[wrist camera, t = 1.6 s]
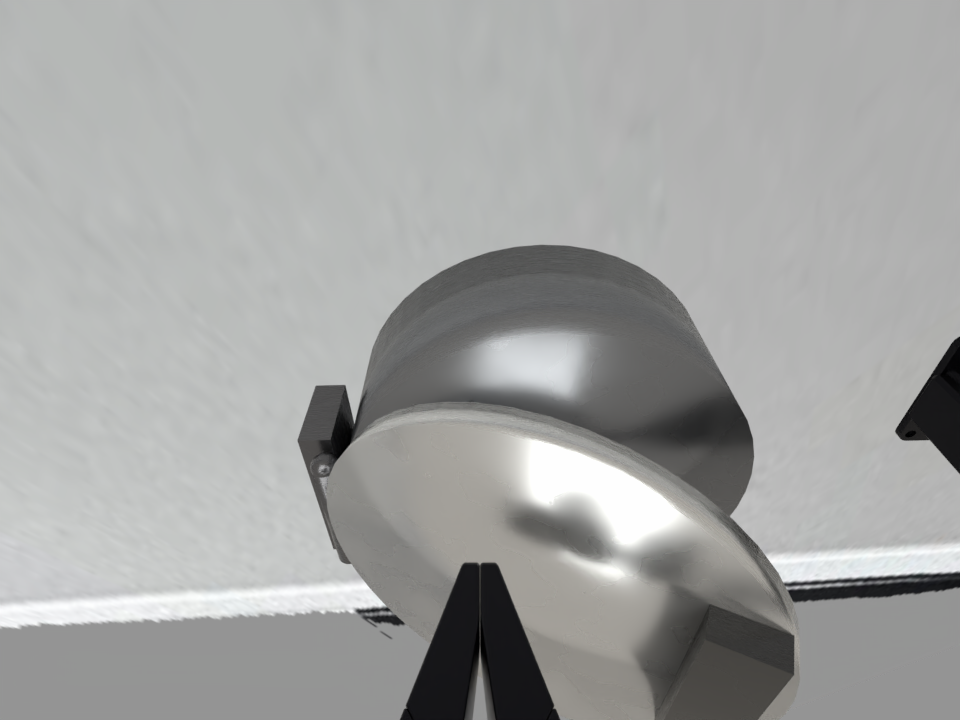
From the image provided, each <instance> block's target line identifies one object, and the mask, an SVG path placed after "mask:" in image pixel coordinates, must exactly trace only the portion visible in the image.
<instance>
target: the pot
mask: <svg viewBox="0 0 960 720" xmlns="http://www.w3.org/2000/svg"><path fill="white" fill-rule="evenodd" d="M437 402H477V403H485V404H492V405H499V406H506V407H513V408H517V409H521V410H525V411H529V412H533V413H538V414H542V415H546V416H550V417H553V418H556V419H558V420H561V421H564V422H567V423H570V424H573V425H576V426H579V427H582V428H585V429H588V430H590V431H592V432H595V433H597V434H599V435H601V436H604V437H606V438H608V439H610V440H612V441H615V442H617V443H619V444H621V445H624V446H626V447H628V448H630V449H632V450H634V451H635V452H637V453H639V454H641V455H642V456H644V457H646V458H648V459H650V460H651V461H653V462H655V463H657V464H659V465H660V466H662V467H664V468H666V469H667V470H669V471H670V472H672V473H673V474H675V475H676V476H678V477H679V478H681V479H682V480H683V481H685V482H686V483H688V484H689V485H691V486H692V487H694V488H695V489H697V490H698V491H700V492H701V493H702V494H703V495H705V496H706V497H707V498H708V499H709V500H711V501H712V502H713V503H714V504H715V505H717V506H718V507H719V508H720V509H721V510H723V511H724V512H725V513H726V514H727V515H729V516H731V514H732V513H733V512H734V510H735V509H736V508H737V506H738V504H739V503H740V501H741V499H742V497H743V495H744V494H745V492H746V489H747V486H748V484H749V481H750V478H751V475H752V469H753V462H754V446H753V437H752V434H751V430H750V427H749V424H748V420H747V419H746V417H745V415H744V413H743V411H742V410H741V408H740V406H739V404H738V402H737V401H736V399H735V397H734V395H733V393H732V391H731V390H730V388H729V386H728V384H727V382H726V381H725V379H724V377H723V375H722V373H721V371H720V370H719V368H718V366H717V364H716V362H715V361H714V359H713V357H712V355H711V353H710V351H709V350H708V348H707V346H706V344H705V342H704V341H703V339H702V337H701V335H700V333H699V332H698V330H697V328H696V326H695V324H694V322H693V321H692V319H691V317H690V315H689V313H688V312H687V310H686V308H685V307H684V305H683V304H682V303H681V302H680V300H679V299H678V298H677V297H676V295H675V294H674V293H673V292H672V291H671V290H670V289H669V288H668V287H666V286H665V285H664V284H663V283H662V282H661V281H660V280H659V279H657V278H656V277H654V276H653V275H651V274H650V273H648V272H646V271H645V270H643V269H642V268H640V267H639V266H637V265H634V264H632V263H630V262H628V261H625V260H623V259H621V258H619V257H616V256H613V255H610V254H606V253H603V252H599V251H596V250H592V249H586V248H580V247H573V246H565V245H531V246H519V247H512V248H507V249H502V250H497V251H492V252H488V253H485V254H482V255H479V256H476V257H473V258H470V259H467V260H464V261H462V262H460V263H458V264H456V265H453V266H451V267H449V268H447V269H445V270H443V271H441V272H440V273H438V274H436V275H435V276H433V277H432V278H430V279H429V280H427V281H425V282H424V283H422V284H421V285H420V286H419V287H418V288H416V289H415V290H414V291H413V292H412V293H410V294H409V295H408V296H407V297H406V298H405V299H404V300H403V301H402V302H401V303H400V304H399V305H398V306H397V308H396V309H395V310H394V311H393V312H392V313H391V314H390V316H389V318H388V319H387V321H386V322H385V324H384V325H383V327H382V328H381V330H380V332H379V334H378V336H377V339H376V341H375V343H374V346H373V348H372V352H371V356H370V360H369V364H368V368H367V373H366V377H365V381H364V386H363V390H362V394H361V399H360V403H359V407H358V411H357V416H356V420H355V424H354V420H353V416H352V411H351V407H350V403H349V398H348V394H347V390H346V385H317V386H315V389H314V392H313V395H312V398H311V401H310V404H309V407H308V410H307V413H306V416H305V419H304V422H303V425H302V428H301V431H300V434H299V437H298V440H297V441H298V444H299V447H300V450H301V453H302V456H303V459H304V462H305V465H306V468H307V471H308V474H309V477H310V480H311V483H312V486H313V489H314V492H315V495H316V498H317V501H318V504H319V507H320V510H321V513H322V516H323V519H324V522H325V525H326V528H327V531H328V534H329V537H330V540H331V543H332V546H333V549H336V547H335V544H334V541H333V538H332V535H331V532H330V529H329V526H328V523H327V520H326V517H325V514H324V511H323V508H322V504H321V501H320V498H319V495H318V492H317V489H316V486H315V483H314V480H313V477H312V474H311V471H310V464H311V462H312V460H313V458H314V457H315V456H316V455H318V454H320V453H330V454H332V455H334V456H335V457H336V458H337V460H338V459H339V457H340V456H341V455H342V454H343V452H344V451H345V450H346V449H347V448H348V446H349V445H350V444H351V443H352V442H353V441H354V439H355V438H356V437H357V436H358V435H359V433H360V432H361V431H362V430H363V429H365V428H366V427H367V426H368V425H370V424H371V423H372V422H374V421H375V420H376V419H378V418H380V417H383V416H385V415H387V414H389V413H391V412H393V411H396V410H399V409H403V408H407V407H411V406H414V405H418V404H428V403H437Z"/></svg>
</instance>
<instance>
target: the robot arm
mask: <svg viewBox="0 0 960 720" xmlns="http://www.w3.org/2000/svg"><path fill="white" fill-rule="evenodd" d="M895 433H896V434H897V435H898V437H899V438H900V439H901V440H904V441H919V440H930V441H931V442H932V443H933V444H934V446H935V447H936V448H937V449H938V450H939V451H940V452H941V454H942V455H943V456H944V457H945V458H946V459H947V460H948V462H949V463H950V464H951V465H952V466H953V467H954V468H955V469H956V471H957V472H958V473H959V474H960V337H958V338H956V339H955V340H954V341H953V342H952V343H951V345H950V346H949V348H948V349H947V351H946V353H945V354H944V356H943V357H942V359H941V360H940V362H939V363H938V365H937V366H936V368H935V369H934V371H933V372H932V374H931V376H930V377H929V379H928V380H927V382H926V383H925V385H924V386H923V388H922V389H921V391H920V392H919V394H918V396H917V397H916V399H915V400H914V402H913V403H912V405H911V406H910V408H909V409H908V411H907V412H906V414H905V415H904V417H903V419H902V420H901V422H900V423H899V425H898V426H897V428H896V430H895ZM479 656H481V668H482V676H483V685H484V694H485V703H486V712H487V720H560V718H559V715H558V713H557V710H556V709H555V708H554V703H553V701H552V698H551V696H550V693H549V691H548V688H547V686H546V683H545V681H544V678H543V676H542V673H541V671H540V668H539V666H538V663H537V661H536V658H535V656H534V653H533V651H532V648H531V646H530V643H529V641H528V638H527V636H526V633H525V631H524V628H523V626H522V623H521V621H520V618H519V615H518V613H517V610H516V608H515V605H514V603H513V600H512V598H511V595H510V593H509V590H508V588H507V585H506V583H505V580H504V578H503V575H502V573H501V570H500V568H499V566H498V564H497V563H495V562H483V563H481V564H479V563H477V562H465V563H463V564H462V566H461V568H460V570H459V573H458V575H457V578H456V580H455V583H454V585H453V588H452V590H451V593H450V596H449V598H448V601H447V603H446V606H445V608H444V611H443V613H442V616H441V618H440V621H439V623H438V626H437V628H436V631H435V633H434V636H433V638H432V641H431V643H430V646H429V648H428V651H427V653H426V656H425V658H424V661H423V663H422V666H421V668H420V671H419V673H418V676H417V678H416V681H415V683H414V686H413V688H412V691H411V693H410V696H409V698H408V701H407V703H406V708H405V709H404V710H403V713H402V715H401V718H400V720H473V712H474V703H475V694H476V685H477V676H478V668H479Z"/></svg>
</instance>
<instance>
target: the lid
mask: <svg viewBox="0 0 960 720" xmlns="http://www.w3.org/2000/svg"><path fill="white" fill-rule="evenodd" d="M310 471H311V474H312V477H313V480H314V483H315V486H316V489H317V492H318V495H319V498H320V501H321V504H322V508H323V511H324V514H325V517H326V520H327V523H328V526H329V529H330V532H331V535H332V538H333V541H334V544H335V547H336V550H337V553H338V556H339V559H340V561H341V562H342V563H344V564H352V565H353V567H354V568H355V570H356V571H357V573H358V574H359V575H360V577H361V578H362V579H363V580H364V582H365V583H366V584H367V585H368V587H369V588H370V589H371V590H372V591H373V592H374V593H375V594H376V596H377V597H378V598H379V599H380V600H381V601H382V602H383V603H384V604H385V605H386V606H387V607H388V608H389V609H390V610H391V611H392V612H393V613H394V614H395V615H396V616H397V617H398V618H399V619H401V620H402V621H403V622H404V623H405V624H406V625H408V626H409V627H410V628H411V629H412V630H413V631H414V632H416V633H417V634H418V635H419V636H421V637H422V638H423V639H425V640H426V641H427V642H428V643H431V641H432V638H433V636H434V633H435V631H436V628H437V626H438V623H439V621H440V618H441V616H442V613H443V611H444V608H445V606H446V603H447V601H448V598H449V596H450V593H451V590H452V588H453V585H454V583H455V580H456V578H457V575H458V573H459V570H460V568H461V566H462V564H463V563H465V562H477V563H479V564H481V563H483V562H495V563H497V564H498V566H499V568H500V570H501V573H502V575H503V578H504V580H505V583H506V585H507V588H508V590H509V593H510V595H511V598H512V600H513V603H514V605H515V608H516V610H517V613H518V615H519V618H520V621H521V623H522V626H523V628H524V631H525V633H526V636H527V638H528V641H529V643H530V646H531V648H532V651H533V653H534V656H535V658H536V661H537V663H538V666H539V668H540V671H541V673H542V676H543V678H544V681H545V683H546V686H547V688H548V691H549V693H550V696H551V698H552V701H553V703H554V708H555V709H556V710H557V713H558V715H560V716H562V717H565V718H568V719H571V720H779V719H780V718H781V717H783V716H784V715H785V714H786V712H787V711H788V709H789V708H790V706H791V705H792V703H793V702H794V700H795V698H796V694H797V690H798V686H799V682H800V636H799V622H798V618H797V615H796V612H795V608H794V605H793V601H792V598H791V596H790V595H789V593H788V591H787V589H786V587H785V585H784V583H783V581H782V579H781V577H780V575H779V573H778V572H777V570H776V569H775V568H774V566H773V565H772V564H771V562H770V561H769V560H768V558H767V557H766V556H765V554H764V553H763V551H762V550H761V549H760V547H759V546H758V545H757V544H756V543H755V542H754V541H753V540H752V539H751V538H750V537H749V536H748V534H747V533H746V532H745V531H744V530H743V529H742V528H741V527H740V526H739V525H738V524H737V523H736V522H735V521H734V520H733V519H732V518H731V517H730V516H729V515H727V514H726V513H725V512H724V511H723V510H721V509H720V508H719V507H718V506H717V505H715V504H714V503H713V502H712V501H711V500H709V499H708V498H707V497H706V496H705V495H703V494H702V493H701V492H700V491H698V490H697V489H695V488H694V487H692V486H691V485H689V484H688V483H686V482H685V481H683V480H682V479H681V478H679V477H678V476H676V475H675V474H673V473H672V472H670V471H669V470H667V469H666V468H664V467H662V466H660V465H659V464H657V463H655V462H653V461H651V460H650V459H648V458H646V457H644V456H642V455H641V454H639V453H637V452H635V451H634V450H632V449H630V448H628V447H626V446H624V445H621V444H619V443H617V442H615V441H612V440H610V439H608V438H606V437H604V436H601V435H599V434H597V433H595V432H592V431H590V430H588V429H585V428H582V427H579V426H576V425H573V424H570V423H567V422H564V421H561V420H558V419H556V418H553V417H550V416H546V415H542V414H538V413H533V412H529V411H525V410H521V409H517V408H513V407H506V406H499V405H492V404H485V403H477V402H437V403H428V404H418V405H414V406H411V407H407V408H403V409H399V410H396V411H393V412H391V413H389V414H387V415H385V416H383V417H380V418H378V419H376V420H375V421H374V422H372V423H371V424H370V425H368V426H367V427H366V428H365V429H363V430H362V431H361V432H360V433H359V435H358V436H357V437H356V438H355V439H354V441H353V442H352V443H351V444H350V445H349V446H348V448H347V449H346V450H345V451H344V452H343V454H342V455H341V456H340V457H339V459H338V460H337V458H336V457H335V456H334V455H332V454H330V453H320V454H318V455H316V456H315V457H314V458H313V460H312V462H311V464H310ZM478 676H479V677H481V678H483V676H482V668H481V656H479V668H478Z"/></svg>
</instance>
